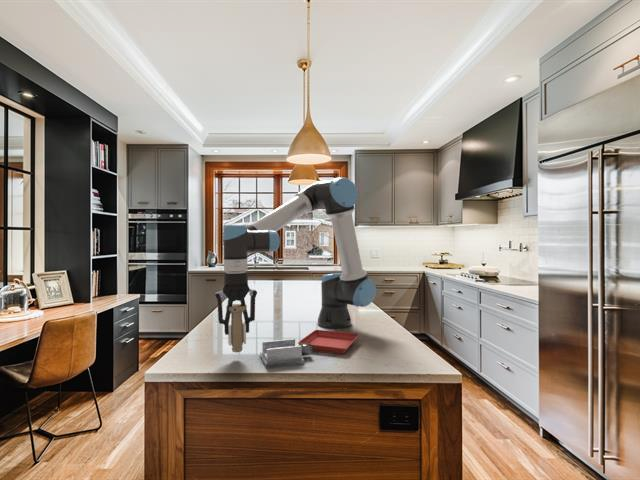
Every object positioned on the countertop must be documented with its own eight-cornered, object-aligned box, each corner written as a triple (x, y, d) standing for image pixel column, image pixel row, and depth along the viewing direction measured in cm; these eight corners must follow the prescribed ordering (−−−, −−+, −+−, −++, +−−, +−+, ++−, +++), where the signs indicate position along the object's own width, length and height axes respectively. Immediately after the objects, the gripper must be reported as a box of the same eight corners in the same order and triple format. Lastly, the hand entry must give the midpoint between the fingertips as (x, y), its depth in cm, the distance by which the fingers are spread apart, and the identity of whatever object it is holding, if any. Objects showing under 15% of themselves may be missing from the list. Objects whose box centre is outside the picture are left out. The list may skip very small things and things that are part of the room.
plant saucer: (346, 357, 123) (346, 347, 123) (297, 351, 130) (297, 342, 130) (359, 342, 140) (359, 333, 140) (315, 337, 147) (315, 329, 146)
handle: (229, 349, 123) (228, 304, 122) (248, 348, 123) (247, 304, 122) (225, 353, 118) (224, 307, 118) (245, 353, 118) (244, 307, 118)
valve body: (305, 351, 129) (305, 336, 129) (316, 362, 118) (316, 346, 117) (260, 355, 124) (260, 340, 124) (266, 368, 112) (266, 351, 112)
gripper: (208, 274, 113) (210, 349, 114) (264, 272, 119) (265, 343, 120) (208, 272, 120) (209, 342, 121) (260, 269, 126) (261, 337, 127)
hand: (237, 343), depth 120 cm, fingers closed on handle, 4 cm apart
